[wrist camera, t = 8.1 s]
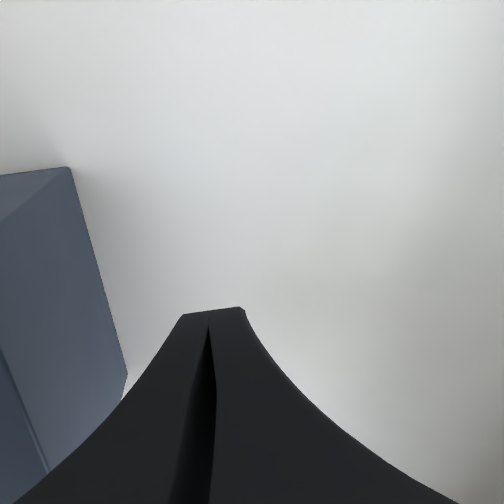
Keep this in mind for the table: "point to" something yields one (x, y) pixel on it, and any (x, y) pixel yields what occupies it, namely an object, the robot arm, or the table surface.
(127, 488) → the robot arm
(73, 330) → the two-tone lidded box
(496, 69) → the table surface
